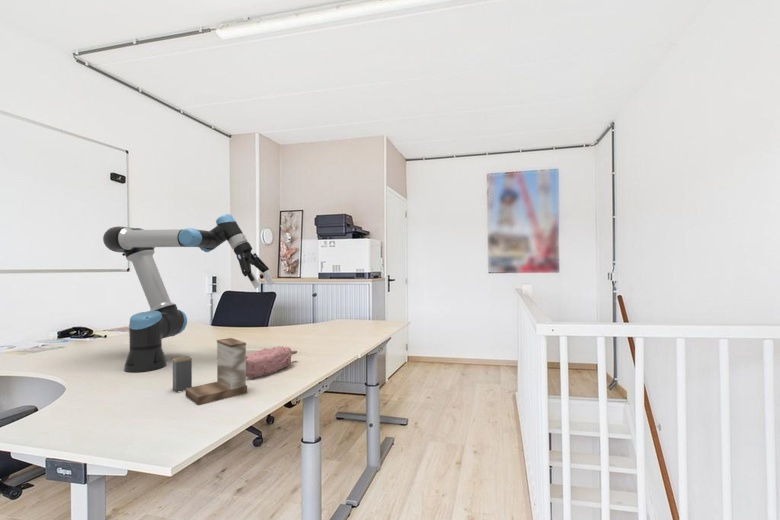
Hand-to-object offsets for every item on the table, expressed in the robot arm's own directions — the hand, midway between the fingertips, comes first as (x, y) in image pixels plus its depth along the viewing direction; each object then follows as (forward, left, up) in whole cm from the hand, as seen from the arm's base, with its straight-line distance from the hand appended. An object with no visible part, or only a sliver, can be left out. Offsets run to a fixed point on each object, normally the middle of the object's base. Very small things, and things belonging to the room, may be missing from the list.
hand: (265, 285), depth 173 cm
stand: (-21, -37, -35) cm, 54 cm away
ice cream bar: (0, -14, -35) cm, 38 cm away
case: (-32, -26, -35) cm, 53 cm away
